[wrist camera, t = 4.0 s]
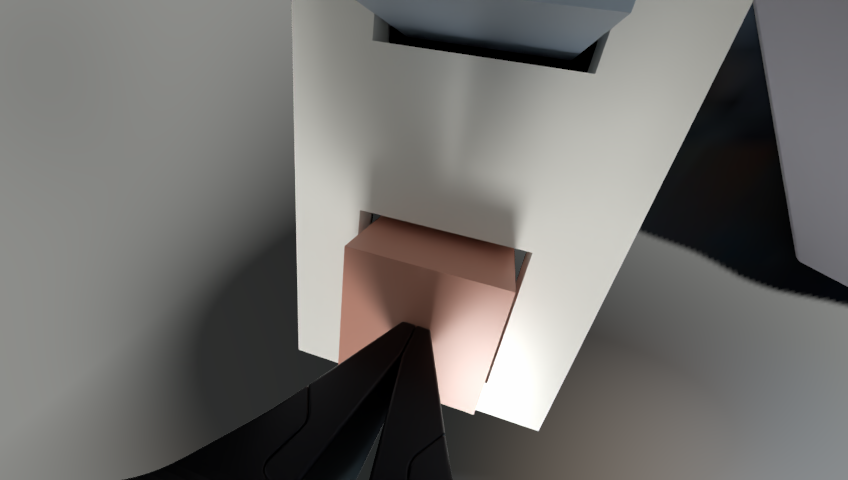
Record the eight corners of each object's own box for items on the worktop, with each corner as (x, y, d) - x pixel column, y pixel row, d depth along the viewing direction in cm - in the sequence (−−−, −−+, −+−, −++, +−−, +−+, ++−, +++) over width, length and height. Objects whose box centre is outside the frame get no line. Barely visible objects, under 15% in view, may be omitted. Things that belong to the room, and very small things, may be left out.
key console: (530, 347, 15) (538, 431, 11) (348, 293, 17) (298, 349, 13) (755, -205, 8) (1029, -552, 4) (380, -207, 9) (281, -450, 5)
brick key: (484, 323, 13) (473, 414, 9) (386, 295, 14) (337, 367, 10) (513, 229, 12) (515, 292, 8) (398, 201, 12) (344, 245, 8)
